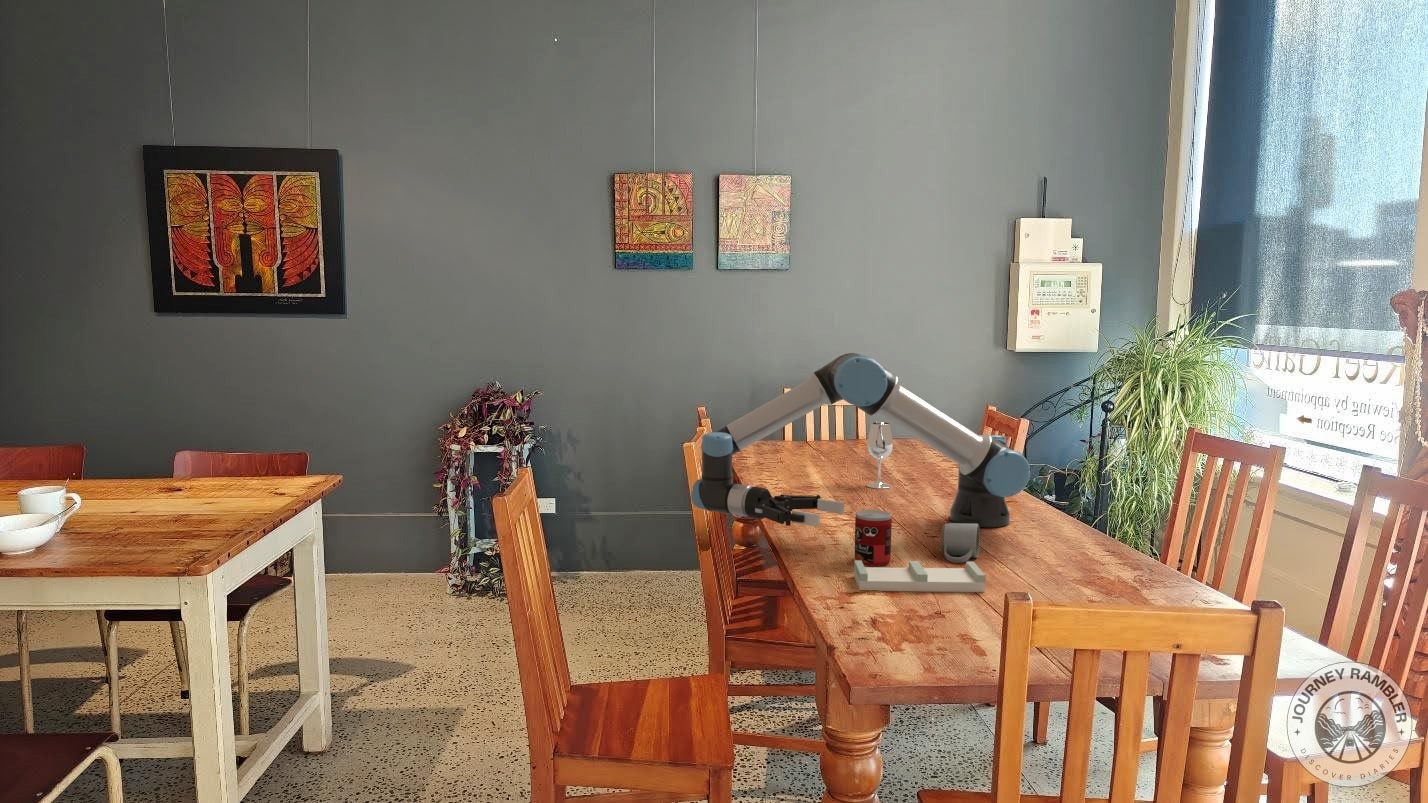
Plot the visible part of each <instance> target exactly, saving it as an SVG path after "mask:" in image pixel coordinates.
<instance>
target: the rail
mask: <svg viewBox="0 0 1428 803" xmlns="http://www.w3.org/2000/svg"><path fill="white" fill-rule="evenodd" d="M853 563H854V564H853V578H854V577H855V578H854V580H855V582H856V585H857V587H858V589H860V590H879V591H878V592H933V593H934V592H936V593H937V592H938V593H939V592H940V593H942V592H943V593H944V592H946V593H948V592H949V593H950V592H951V593H959V592H960V593H985V592H986V574H985V573H984V571H982V570H981V568H980V567H979V566H978V565H977V564H976V563H975V562H974V561H966V562H965V568H962V567H961V568H960V567H956V568H955V567H953V568H951V567H950V568H949V567H945V568H944V567H923V565H921V563H920V561H919V560H908V567H884V566H866V567H865V565H863V563H862V560H855V559H854V561H853ZM860 590H859V591H860Z"/></svg>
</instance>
